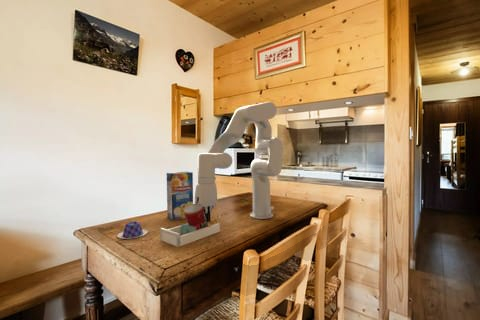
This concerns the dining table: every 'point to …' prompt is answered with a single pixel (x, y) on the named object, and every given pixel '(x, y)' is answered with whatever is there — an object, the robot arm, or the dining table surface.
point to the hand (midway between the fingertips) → (206, 221)
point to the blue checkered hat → (132, 231)
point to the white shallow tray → (174, 234)
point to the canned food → (196, 216)
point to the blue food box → (179, 193)
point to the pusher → (187, 229)
